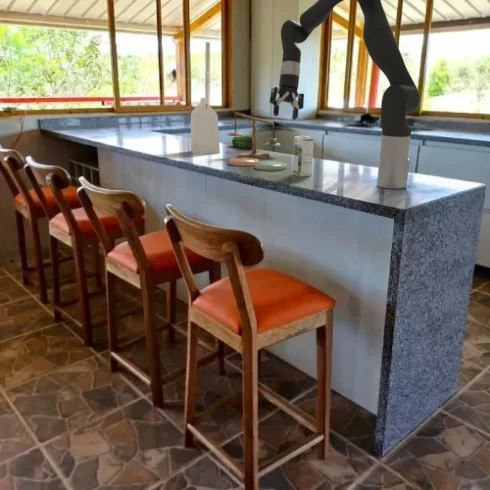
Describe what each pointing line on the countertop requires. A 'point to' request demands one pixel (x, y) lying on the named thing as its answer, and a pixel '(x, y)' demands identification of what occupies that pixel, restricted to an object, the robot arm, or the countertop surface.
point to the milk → (204, 129)
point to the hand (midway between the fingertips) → (285, 117)
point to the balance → (254, 154)
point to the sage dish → (271, 166)
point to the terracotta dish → (243, 161)
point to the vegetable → (243, 141)
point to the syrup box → (303, 156)
